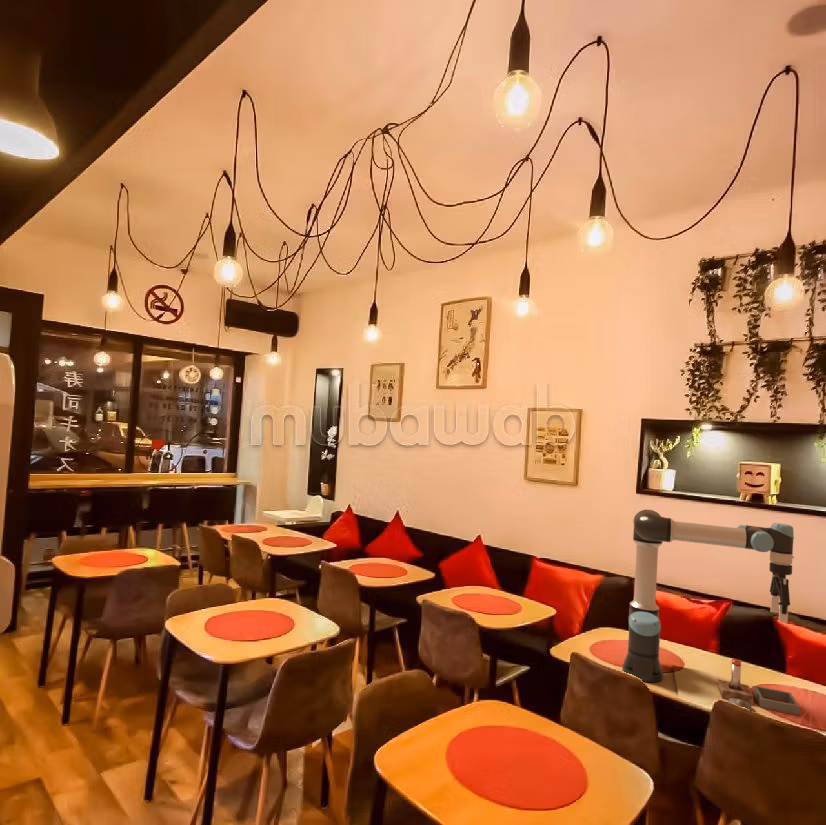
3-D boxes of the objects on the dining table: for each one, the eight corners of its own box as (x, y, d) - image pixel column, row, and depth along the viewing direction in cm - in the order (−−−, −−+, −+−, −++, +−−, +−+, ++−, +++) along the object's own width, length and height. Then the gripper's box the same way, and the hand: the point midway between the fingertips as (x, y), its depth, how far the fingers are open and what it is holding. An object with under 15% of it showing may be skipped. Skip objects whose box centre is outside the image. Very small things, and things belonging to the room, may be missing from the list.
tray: (759, 709, 202) (760, 698, 202) (753, 696, 213) (753, 685, 213) (799, 718, 198) (799, 706, 198) (790, 703, 209) (790, 692, 209)
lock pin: (731, 696, 209) (732, 661, 210) (729, 693, 212) (731, 658, 212) (740, 698, 208) (741, 662, 208) (738, 695, 211) (740, 660, 211)
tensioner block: (725, 710, 200) (725, 699, 200) (717, 690, 216) (718, 679, 217) (757, 717, 196) (758, 705, 196) (747, 696, 213) (748, 685, 213)
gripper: (801, 571, 211) (798, 628, 210) (783, 558, 234) (781, 610, 233) (777, 568, 213) (775, 624, 212) (763, 556, 236) (760, 606, 236)
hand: (778, 617), depth 223 cm, fingers open, 13 cm apart
